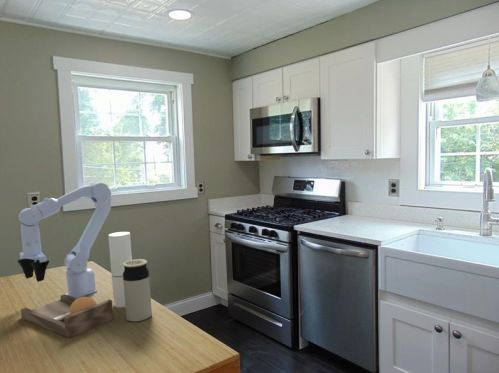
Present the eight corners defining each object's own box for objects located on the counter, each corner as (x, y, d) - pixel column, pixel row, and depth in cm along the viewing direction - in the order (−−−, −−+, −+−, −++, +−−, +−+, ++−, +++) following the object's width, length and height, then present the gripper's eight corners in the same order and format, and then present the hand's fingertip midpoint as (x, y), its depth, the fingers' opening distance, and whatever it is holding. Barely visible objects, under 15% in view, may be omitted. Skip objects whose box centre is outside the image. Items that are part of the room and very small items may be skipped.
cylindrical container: (139, 300, 136) (134, 232, 134) (125, 308, 130) (119, 236, 128) (124, 298, 139) (118, 231, 137) (109, 305, 133) (103, 235, 131)
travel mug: (138, 324, 117) (133, 267, 115) (120, 319, 121) (116, 264, 120) (157, 314, 124) (153, 260, 122) (140, 310, 128) (136, 257, 126)
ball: (105, 301, 120) (99, 320, 123) (87, 287, 123) (82, 306, 126) (84, 313, 113) (79, 333, 116) (66, 298, 116) (61, 318, 119)
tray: (65, 302, 138) (63, 286, 138) (113, 318, 122) (111, 300, 122) (21, 317, 126) (19, 300, 126) (68, 338, 110) (66, 318, 109)
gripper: (9, 242, 136) (13, 279, 137) (30, 246, 128) (34, 285, 129) (29, 238, 142) (33, 274, 143) (50, 241, 134) (54, 279, 135)
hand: (34, 279), depth 136 cm, fingers open, 7 cm apart
